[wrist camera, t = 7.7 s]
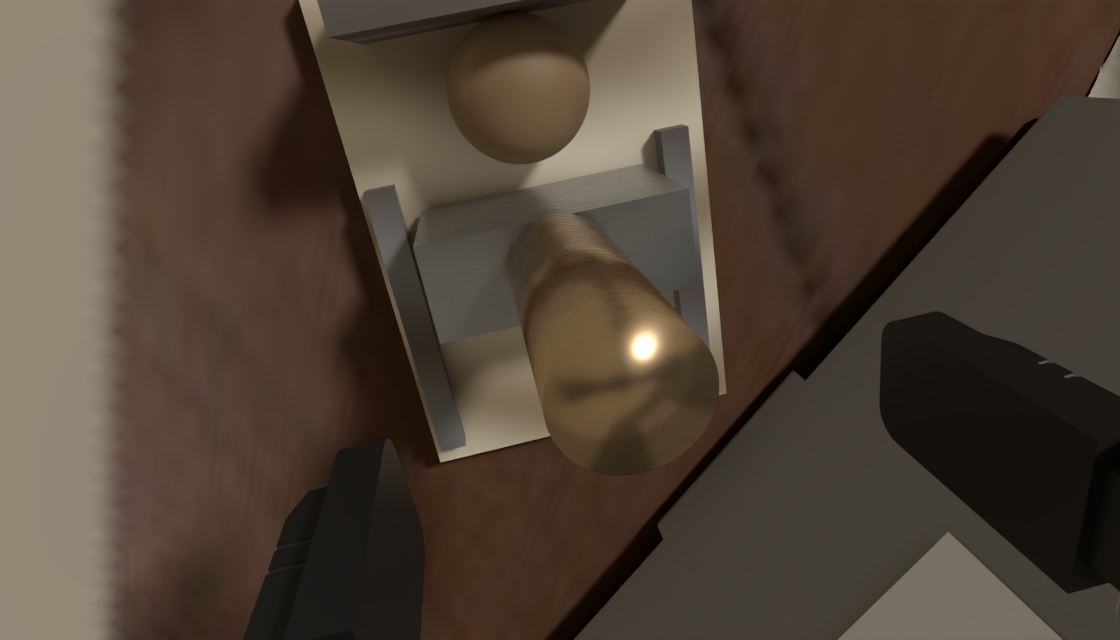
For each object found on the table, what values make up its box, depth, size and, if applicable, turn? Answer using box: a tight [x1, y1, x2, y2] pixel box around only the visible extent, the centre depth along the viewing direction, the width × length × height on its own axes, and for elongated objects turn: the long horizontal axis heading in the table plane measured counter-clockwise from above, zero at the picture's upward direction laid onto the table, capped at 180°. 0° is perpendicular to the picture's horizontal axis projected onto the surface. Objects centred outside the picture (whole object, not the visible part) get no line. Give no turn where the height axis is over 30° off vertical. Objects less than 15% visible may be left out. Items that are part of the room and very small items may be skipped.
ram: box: [413, 164, 719, 475], centre depth 17 cm, size 3×8×13 cm, turn 100°
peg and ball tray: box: [299, 0, 726, 462], centre depth 21 cm, size 18×12×7 cm
